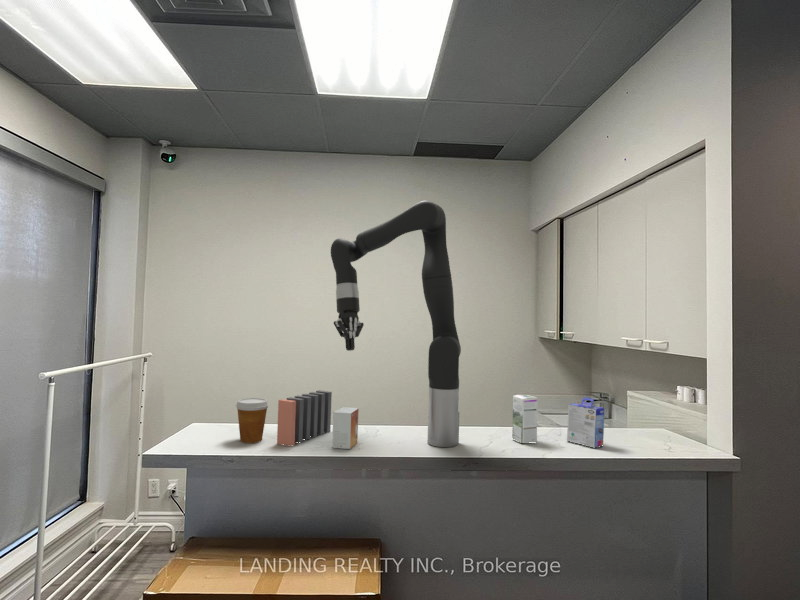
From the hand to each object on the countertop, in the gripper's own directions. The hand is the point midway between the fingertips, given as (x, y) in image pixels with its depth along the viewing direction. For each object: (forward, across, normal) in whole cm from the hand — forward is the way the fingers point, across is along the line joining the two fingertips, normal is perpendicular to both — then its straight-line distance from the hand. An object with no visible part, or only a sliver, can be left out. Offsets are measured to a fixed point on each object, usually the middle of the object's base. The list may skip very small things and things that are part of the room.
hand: (350, 350), depth 161 cm
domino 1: (+27, -20, +10) cm, 35 cm away
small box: (+29, -9, -4) cm, 31 cm away
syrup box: (+33, +32, -43) cm, 63 cm away
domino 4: (+26, -9, +12) cm, 30 cm away
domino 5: (+26, -5, +12) cm, 29 cm away
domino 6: (+25, -2, +13) cm, 28 cm away
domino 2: (+27, -16, +10) cm, 33 cm away
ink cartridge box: (+35, +42, -59) cm, 81 cm away
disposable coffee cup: (+26, -24, +21) cm, 41 cm away
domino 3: (+26, -13, +11) cm, 31 cm away
